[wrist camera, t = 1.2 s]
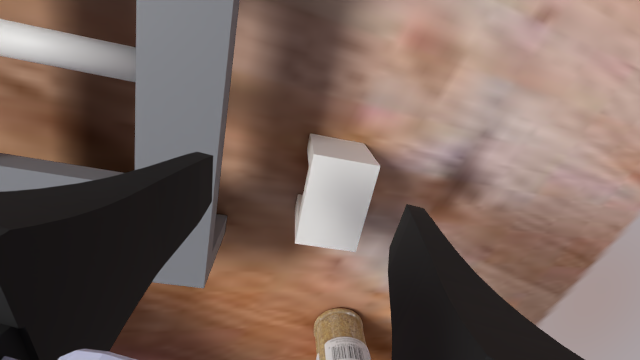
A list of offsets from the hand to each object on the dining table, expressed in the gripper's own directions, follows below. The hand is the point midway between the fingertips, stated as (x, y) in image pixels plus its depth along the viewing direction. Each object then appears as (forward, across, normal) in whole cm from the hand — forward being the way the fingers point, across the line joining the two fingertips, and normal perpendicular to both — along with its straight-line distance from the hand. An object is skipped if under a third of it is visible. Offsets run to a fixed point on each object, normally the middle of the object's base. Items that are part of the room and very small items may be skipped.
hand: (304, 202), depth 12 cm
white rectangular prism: (+12, 0, +5) cm, 13 cm away
